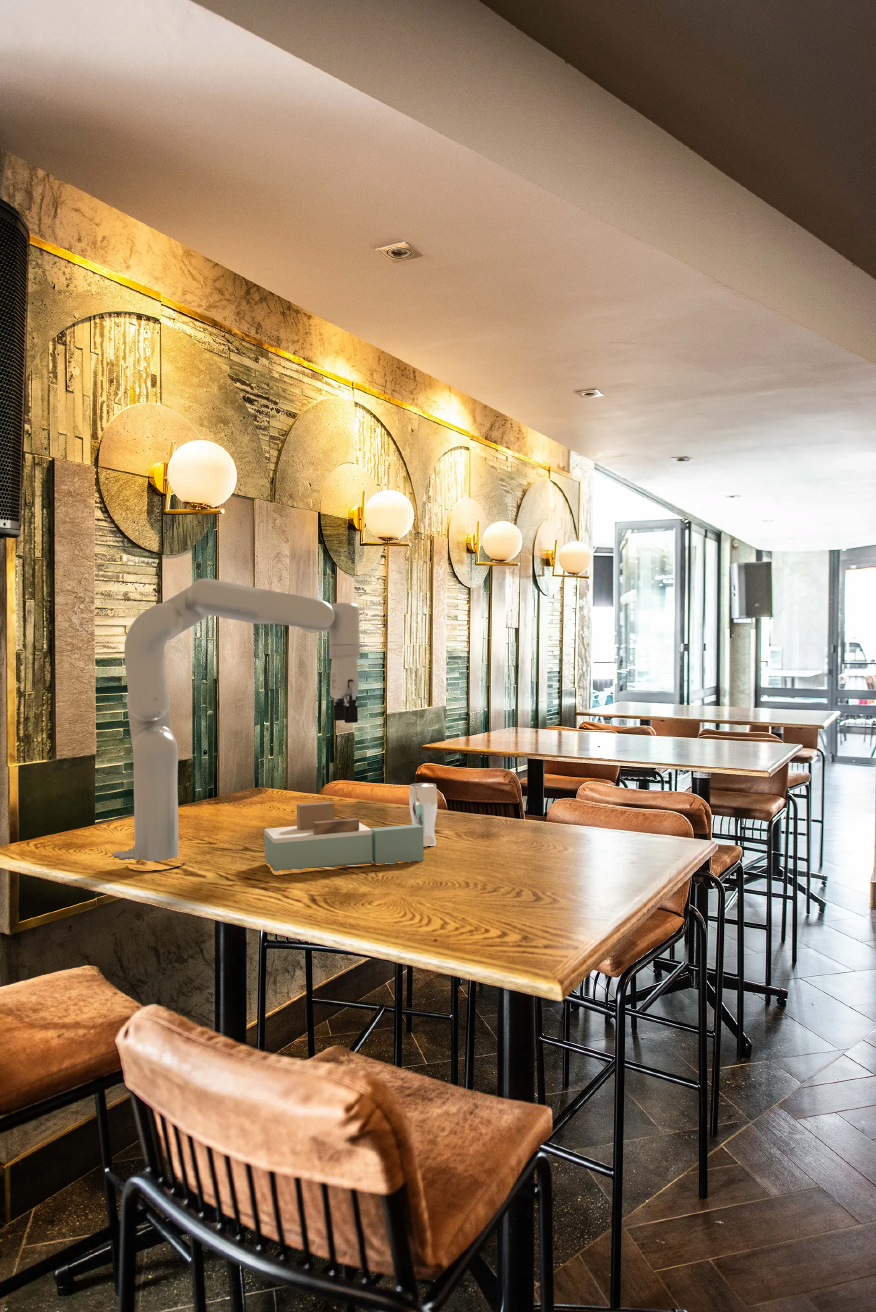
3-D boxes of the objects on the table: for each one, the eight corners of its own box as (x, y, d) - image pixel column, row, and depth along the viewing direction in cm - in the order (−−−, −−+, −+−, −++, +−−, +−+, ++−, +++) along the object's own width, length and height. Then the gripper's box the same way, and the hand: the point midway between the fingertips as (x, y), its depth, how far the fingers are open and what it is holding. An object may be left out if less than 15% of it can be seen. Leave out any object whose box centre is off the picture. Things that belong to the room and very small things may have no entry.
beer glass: (439, 842, 213) (438, 782, 214) (436, 848, 207) (435, 786, 207) (412, 841, 214) (411, 782, 214) (408, 847, 207) (407, 786, 207)
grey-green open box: (275, 876, 181) (274, 840, 181) (264, 863, 193) (264, 829, 193) (423, 860, 193) (423, 826, 194) (405, 849, 205) (404, 817, 205)
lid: (274, 848, 182) (273, 813, 182) (264, 838, 193) (264, 804, 193) (372, 839, 190) (371, 805, 190) (357, 830, 201) (356, 797, 201)
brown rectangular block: (315, 834, 185) (315, 823, 185) (312, 832, 187) (312, 821, 187) (359, 830, 189) (359, 819, 189) (356, 828, 191) (356, 818, 191)
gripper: (321, 653, 216) (322, 720, 216) (339, 652, 200) (340, 724, 200) (349, 653, 219) (350, 719, 219) (369, 651, 203) (370, 723, 203)
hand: (345, 721), depth 210 cm, fingers open, 9 cm apart
